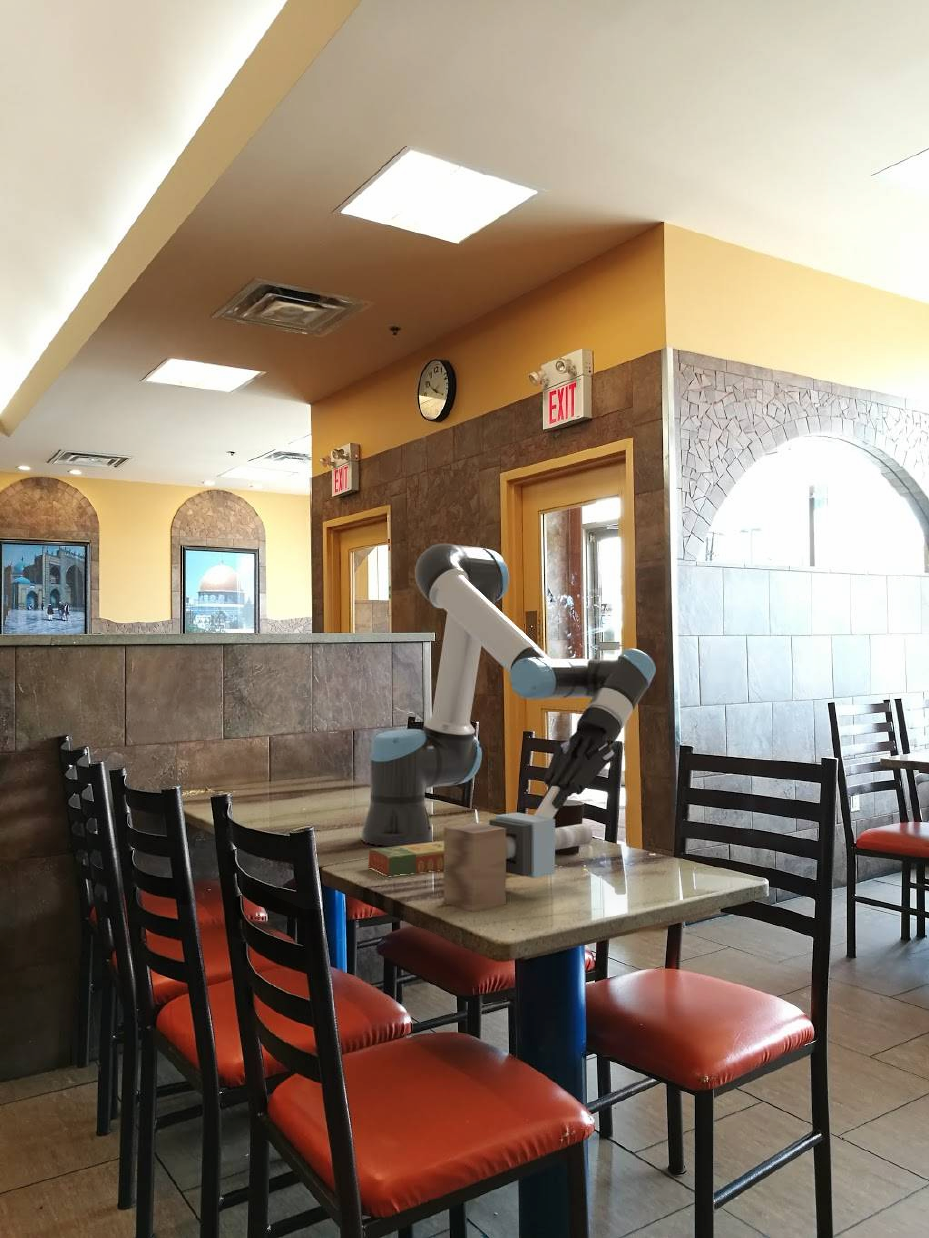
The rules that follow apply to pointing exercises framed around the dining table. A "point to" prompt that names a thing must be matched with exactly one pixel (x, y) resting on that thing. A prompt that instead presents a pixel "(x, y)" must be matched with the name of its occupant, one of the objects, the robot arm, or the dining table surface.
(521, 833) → the dark gray square plate
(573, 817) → the coffee mug
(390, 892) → the dining table surface
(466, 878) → the pipe mount
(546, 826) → the sleeve
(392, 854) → the carton
